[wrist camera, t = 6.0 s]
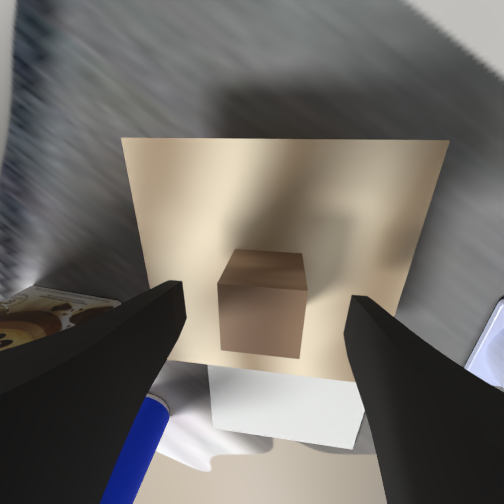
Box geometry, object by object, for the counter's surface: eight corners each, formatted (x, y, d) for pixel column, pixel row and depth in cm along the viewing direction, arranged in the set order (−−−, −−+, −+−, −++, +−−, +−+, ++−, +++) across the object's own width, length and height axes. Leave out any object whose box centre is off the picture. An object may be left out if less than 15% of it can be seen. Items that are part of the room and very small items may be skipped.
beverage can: (123, 388, 26) (-49, 644, 13) (166, 391, 26) (30, 667, 12) (136, 418, 28) (-2, 665, 15) (176, 421, 28) (69, 687, 14)
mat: (384, 335, 19) (387, 340, 19) (351, 443, 25) (352, 449, 25) (205, 317, 21) (203, 321, 20) (214, 423, 27) (213, 428, 26)
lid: (438, 140, 10) (536, 135, 6) (368, 373, 16) (396, 448, 12) (131, 138, 12) (52, 133, 8) (168, 350, 17) (134, 409, 13)
